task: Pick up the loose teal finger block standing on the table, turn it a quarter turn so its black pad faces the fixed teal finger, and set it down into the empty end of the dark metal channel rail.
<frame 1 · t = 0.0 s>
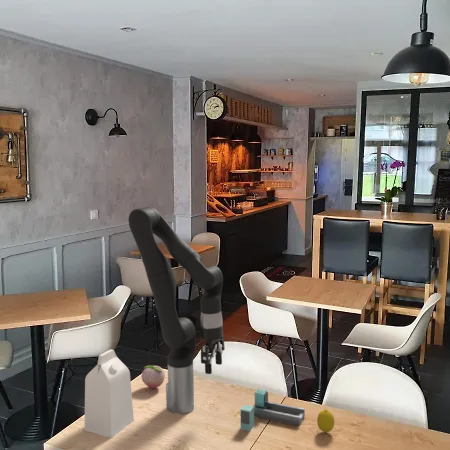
hand: (213, 368, 170), 17 cm above the table, tool pointing down, fingers open, 8 cm apart
rail: (277, 416, 171), on the table
decorative fruit: (154, 388, 194), on the table
lemon: (325, 433, 160), on the table
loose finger: (247, 427, 164), on the table
milk: (109, 426, 166), on the table
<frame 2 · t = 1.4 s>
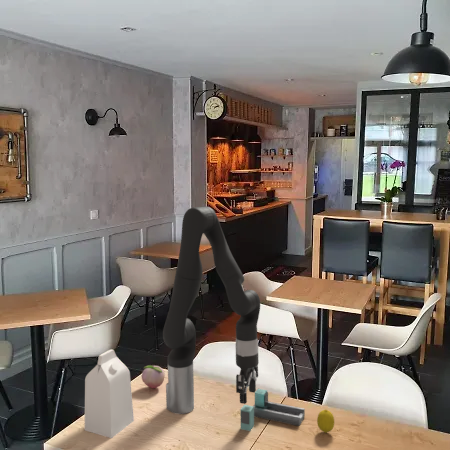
hand: (247, 397, 163), 11 cm above the table, tool pointing down, fingers open, 8 cm apart
nothing on the table moved.
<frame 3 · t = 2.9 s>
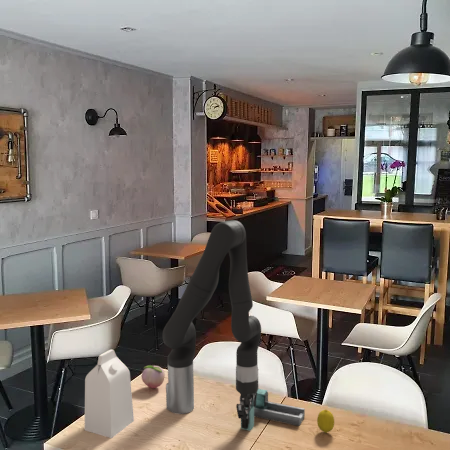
hand: (247, 424, 164), 1 cm above the table, tool pointing down, fingers closed on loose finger, 4 cm apart
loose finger: (247, 427, 164), on the table, touching gripper
everything else where it was.
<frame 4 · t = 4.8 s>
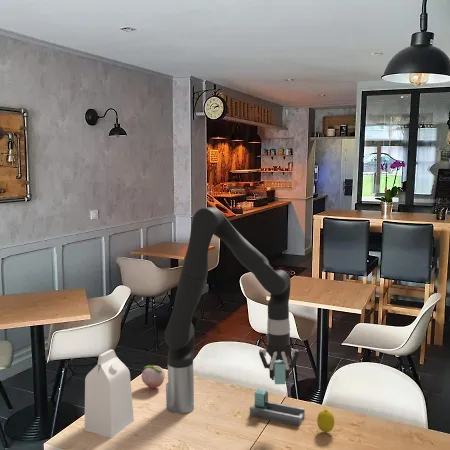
hand: (279, 378, 165), 16 cm above the table, tool pointing down, fingers closed on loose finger, 4 cm apart
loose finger: (279, 382, 165), point 15 cm above the table, touching gripper
everything else where it was.
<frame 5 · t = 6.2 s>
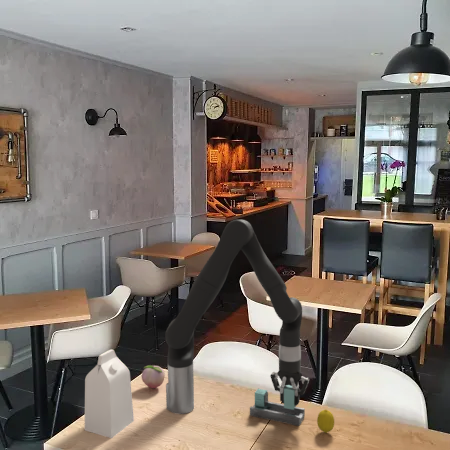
hand: (289, 403, 169), 6 cm above the table, tool pointing down, fingers closed on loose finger, 4 cm apart
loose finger: (290, 406, 169), point 5 cm above the table, touching gripper
everything else where it was.
when the fingers open (3 cm above the table, at t = 7.0 s): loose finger stays where it is, resting on rail.
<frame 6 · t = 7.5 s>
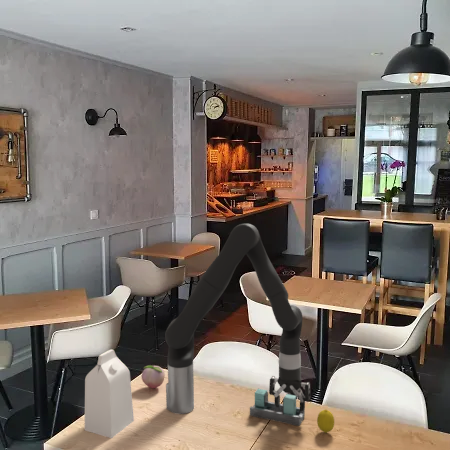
hand: (289, 408, 169), 4 cm above the table, tool pointing down, fingers open, 8 cm apart
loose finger: (289, 416, 169), point 1 cm above the table, touching rail
everything else where it was.
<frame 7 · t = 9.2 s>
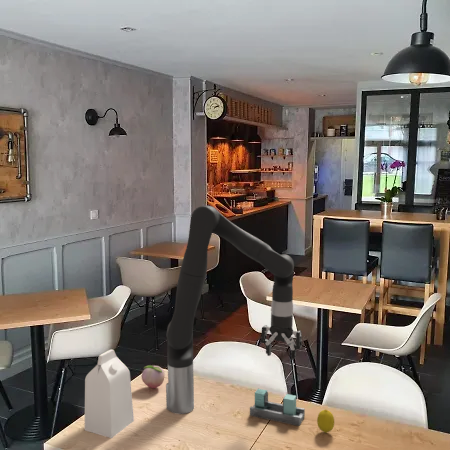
hand: (280, 357, 171), 21 cm above the table, tool pointing down, fingers open, 8 cm apart
nothing on the table moved.
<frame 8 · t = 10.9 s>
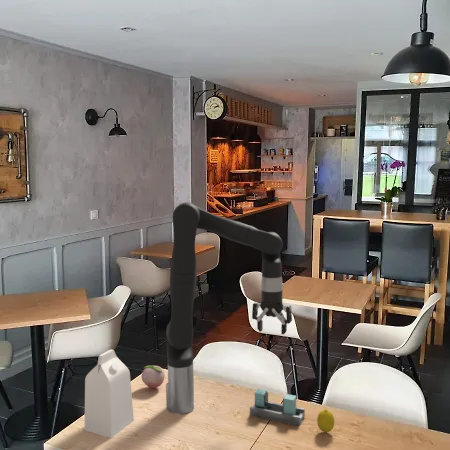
hand: (271, 332, 175), 28 cm above the table, tool pointing down, fingers open, 8 cm apart
nothing on the table moved.
at the end: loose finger 0.1 cm from the target spot on the rail, point 1.0 cm above the rail's base; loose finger tilted 0°; the gripper is holding nothing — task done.
